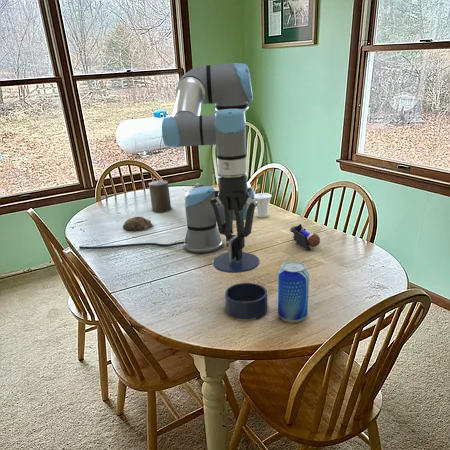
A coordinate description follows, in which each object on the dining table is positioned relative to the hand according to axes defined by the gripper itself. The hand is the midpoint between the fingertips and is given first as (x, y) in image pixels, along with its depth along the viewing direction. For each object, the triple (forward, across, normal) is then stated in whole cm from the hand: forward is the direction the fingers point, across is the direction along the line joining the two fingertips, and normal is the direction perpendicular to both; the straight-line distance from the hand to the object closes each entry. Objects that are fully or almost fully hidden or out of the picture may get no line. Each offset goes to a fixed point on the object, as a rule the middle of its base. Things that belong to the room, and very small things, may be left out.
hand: (236, 258), depth 125 cm
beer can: (+17, +17, +1) cm, 24 cm away
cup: (+17, -25, +84) cm, 89 cm away
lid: (+1, 0, 0) cm, 1 cm away
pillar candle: (+16, -78, +79) cm, 112 cm away
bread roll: (+17, -74, +53) cm, 92 cm away
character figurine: (+17, +4, +54) cm, 57 cm away
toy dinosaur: (+16, -64, +96) cm, 116 cm away
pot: (+17, +3, 0) cm, 17 cm away
